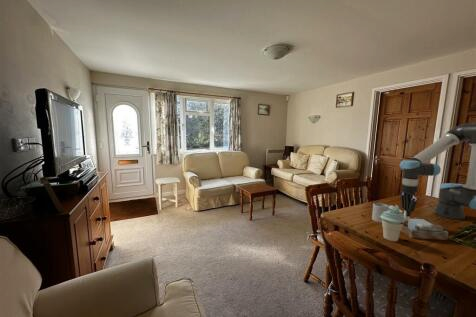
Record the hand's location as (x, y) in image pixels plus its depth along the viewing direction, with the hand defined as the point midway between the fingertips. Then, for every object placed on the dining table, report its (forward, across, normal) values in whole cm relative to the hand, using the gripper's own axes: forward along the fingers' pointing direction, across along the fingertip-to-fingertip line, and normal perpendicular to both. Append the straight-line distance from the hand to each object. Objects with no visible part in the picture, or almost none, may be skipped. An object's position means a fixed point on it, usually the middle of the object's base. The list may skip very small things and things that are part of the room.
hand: (406, 220), depth 129 cm
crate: (+2, +12, -1) cm, 13 cm away
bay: (+2, +8, 0) cm, 8 cm away
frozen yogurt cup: (+2, +21, -21) cm, 30 cm away
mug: (+2, -5, -13) cm, 14 cm away
